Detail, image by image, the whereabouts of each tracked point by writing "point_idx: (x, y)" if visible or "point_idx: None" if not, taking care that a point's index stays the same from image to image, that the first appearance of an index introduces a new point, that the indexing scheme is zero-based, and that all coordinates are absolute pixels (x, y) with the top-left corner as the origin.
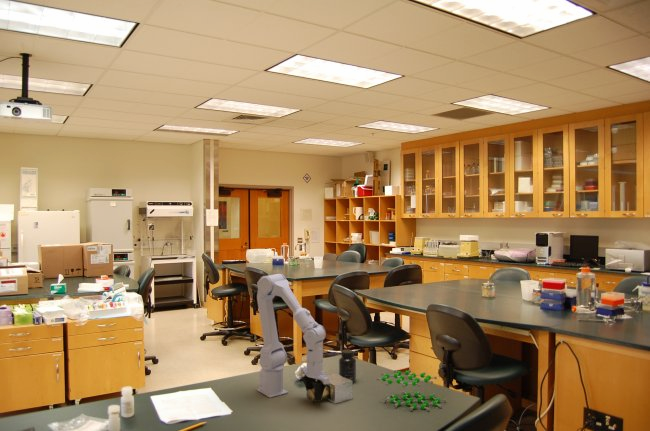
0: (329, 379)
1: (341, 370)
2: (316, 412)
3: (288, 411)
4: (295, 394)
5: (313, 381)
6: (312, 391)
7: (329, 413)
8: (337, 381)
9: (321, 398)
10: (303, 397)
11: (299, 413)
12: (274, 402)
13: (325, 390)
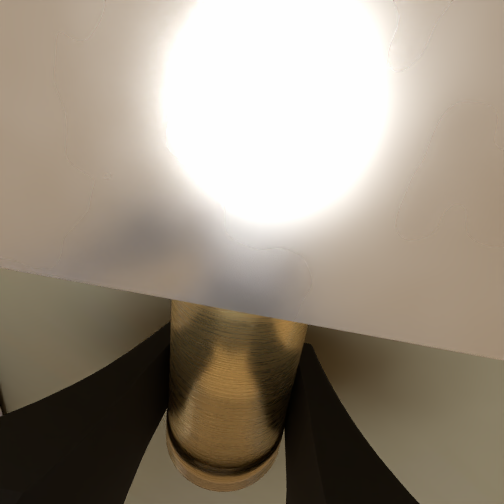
0: (157, 154)
1: None
2: (379, 430)
3: (234, 491)
4: (24, 308)
5: (98, 465)
6: (250, 478)
7: (477, 397)
8: (447, 92)
9: (314, 357)
10: (105, 311)
11: None
12: None
13: (301, 326)
